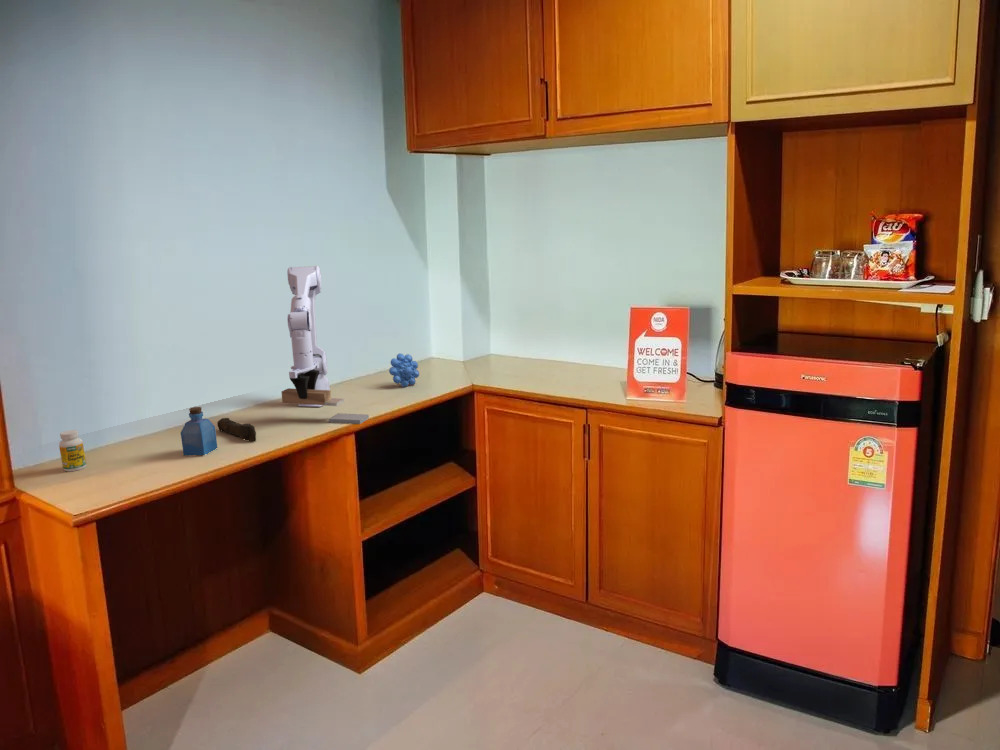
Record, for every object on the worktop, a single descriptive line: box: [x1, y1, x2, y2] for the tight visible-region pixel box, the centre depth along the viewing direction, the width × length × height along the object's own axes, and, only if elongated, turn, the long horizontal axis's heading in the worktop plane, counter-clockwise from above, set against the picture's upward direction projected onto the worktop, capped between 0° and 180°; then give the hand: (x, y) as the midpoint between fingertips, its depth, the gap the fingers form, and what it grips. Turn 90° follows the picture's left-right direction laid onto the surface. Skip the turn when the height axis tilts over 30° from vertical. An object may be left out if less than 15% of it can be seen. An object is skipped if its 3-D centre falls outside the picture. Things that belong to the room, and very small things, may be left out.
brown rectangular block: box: [281, 388, 345, 407], centre depth 245 cm, size 5×18×4 cm, turn 75°
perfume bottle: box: [180, 406, 218, 456], centre depth 217 cm, size 6×6×12 cm
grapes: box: [388, 353, 420, 388], centre depth 281 cm, size 12×7×12 cm, turn 128°
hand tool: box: [216, 417, 257, 442], centre depth 232 cm, size 19×4×5 cm, turn 41°
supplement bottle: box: [58, 429, 87, 472], centre depth 208 cm, size 5×5×10 cm
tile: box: [328, 412, 370, 425], centre depth 244 cm, size 6×2×10 cm
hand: (306, 396), depth 246 cm, fingers closed on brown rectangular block, 4 cm apart
